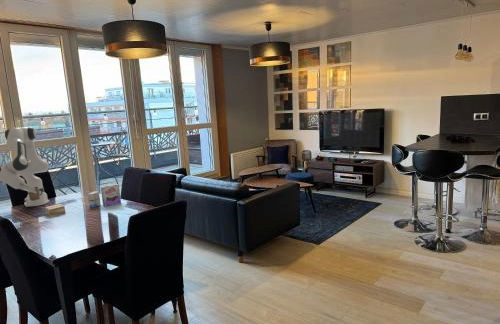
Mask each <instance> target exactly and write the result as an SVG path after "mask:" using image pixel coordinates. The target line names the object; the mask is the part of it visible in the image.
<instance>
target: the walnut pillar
mask: <svg viewBox="0 0 500 324" xmlns="http://www.w3.org/2000/svg"><path fill="white" fill-rule="evenodd" d="M32 187H34V188H35V191H36V192H37V193H36V194H35V193H32V192H29V196H30V200H32V201H34V200H38V199H40V197H39V191H38V187H37V186H32Z"/></svg>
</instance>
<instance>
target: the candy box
mask: <svg viewBox="0 0 500 324" xmlns="http://www.w3.org/2000/svg"><path fill="white" fill-rule="evenodd" d="M100 191H101V193H100V194H101V199H102V206H103V207H109V206H115V205H119V204H122V201H121V200H122V199H121V191H120V185H119V184H118V183H116V184H115V183H114V184H109V185H100Z"/></svg>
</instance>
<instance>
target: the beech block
mask: <svg viewBox="0 0 500 324" xmlns="http://www.w3.org/2000/svg"><path fill="white" fill-rule="evenodd" d="M45 213H46V215H47V216H48V217H50V218H51V217H55V216H60V215H64V214H66V206H65V205H64V204H61V203H59V204H54V205H49V206H45Z"/></svg>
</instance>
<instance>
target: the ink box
mask: <svg viewBox="0 0 500 324" xmlns="http://www.w3.org/2000/svg"><path fill="white" fill-rule="evenodd" d="M100 198H101V196H100V191H92V192H89V193H87V199H88V205H89V208H97V207H98V206H101V199H100Z"/></svg>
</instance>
